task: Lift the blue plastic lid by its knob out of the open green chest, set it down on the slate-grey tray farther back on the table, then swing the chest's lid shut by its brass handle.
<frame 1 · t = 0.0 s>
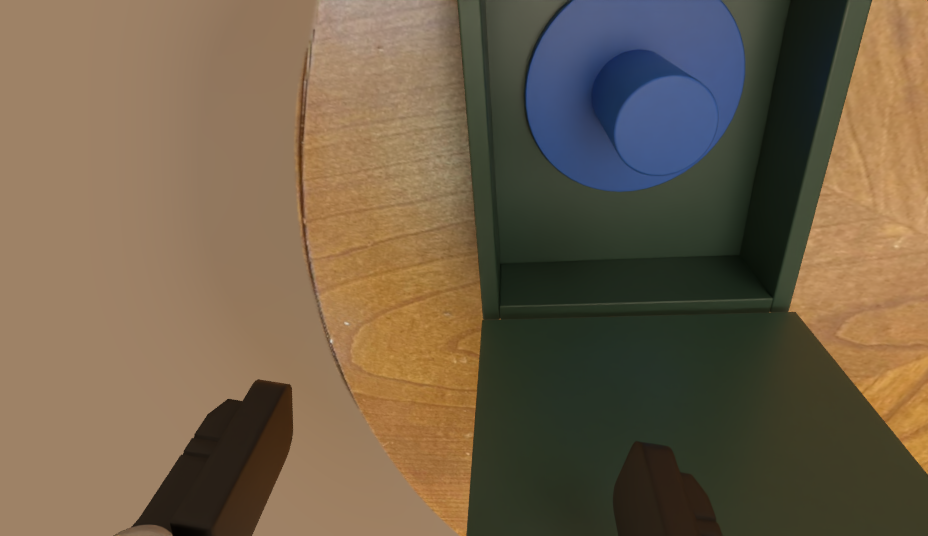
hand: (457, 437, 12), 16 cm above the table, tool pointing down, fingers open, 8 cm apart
blue lid: (628, 88, 23), point 1 cm above the table, touching green chest
chest lid: (678, 516, 18), point 13 cm above the table, hinge at 90.0°
green chest: (623, 118, 24), on the table
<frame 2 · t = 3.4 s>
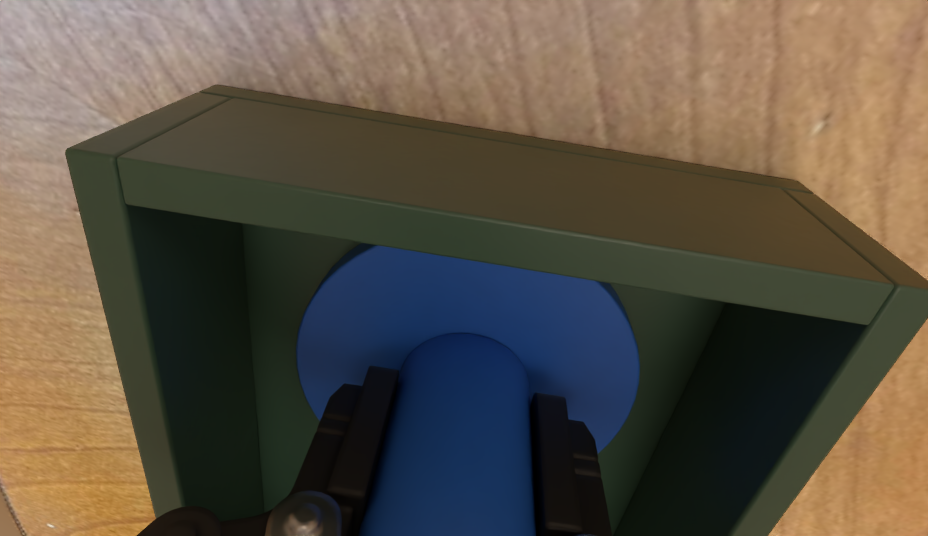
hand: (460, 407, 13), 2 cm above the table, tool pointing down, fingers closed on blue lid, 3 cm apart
blue lid: (466, 363, 15), point 1 cm above the table, touching gripper, green chest
green chest: (460, 383, 16), on the table
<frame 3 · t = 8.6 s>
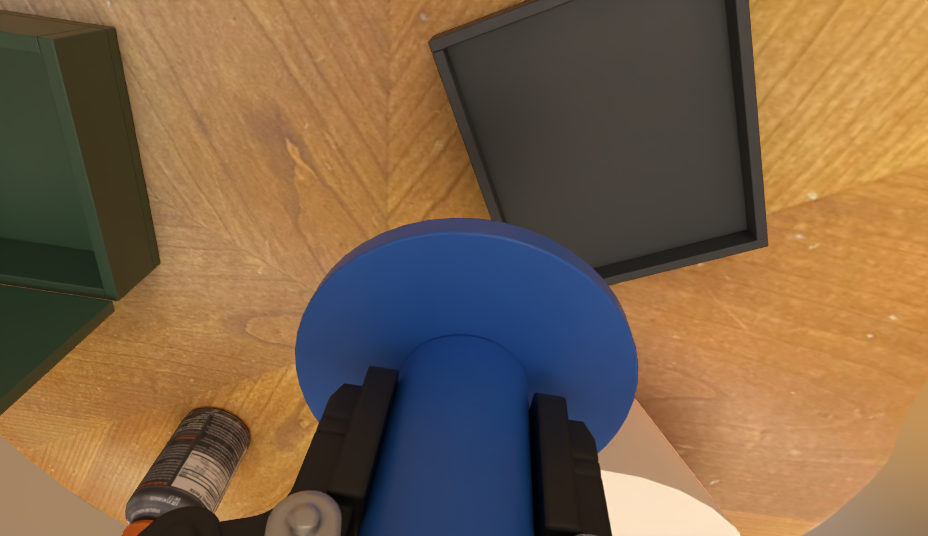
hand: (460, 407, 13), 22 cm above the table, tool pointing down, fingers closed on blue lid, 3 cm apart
blue lid: (465, 364, 15), point 20 cm above the table, touching gripper
pill bottle: (219, 428, 47), on the table
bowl: (545, 442, 45), on the table
green chest: (34, 143, 34), on the table
tray: (605, 140, 31), on the table
when the fingers open (2 cm above the table, at t = 13.7 s): blue lid stays where it is, resting on tray.
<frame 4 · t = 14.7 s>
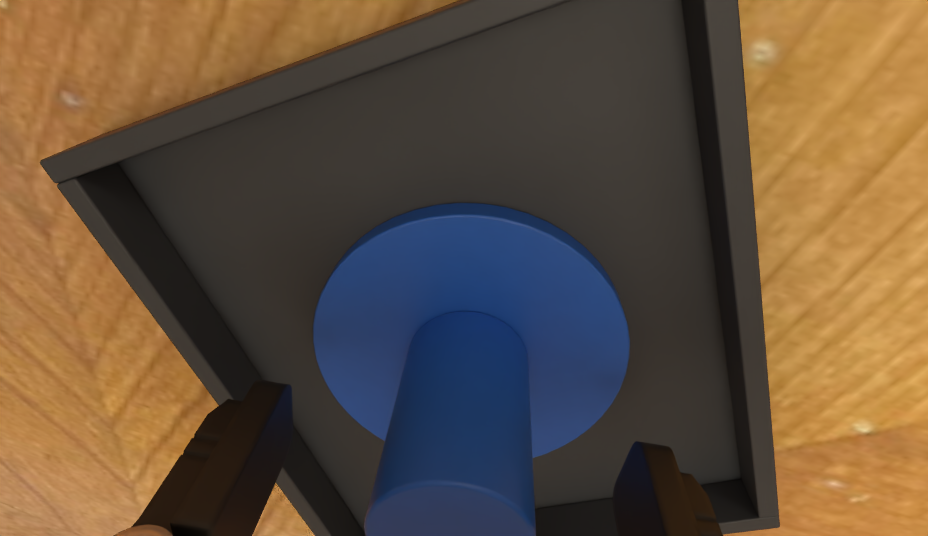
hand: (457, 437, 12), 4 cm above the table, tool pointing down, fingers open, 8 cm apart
blue lid: (469, 341, 16), point 1 cm above the table, touching tray
tray: (470, 327, 16), on the table
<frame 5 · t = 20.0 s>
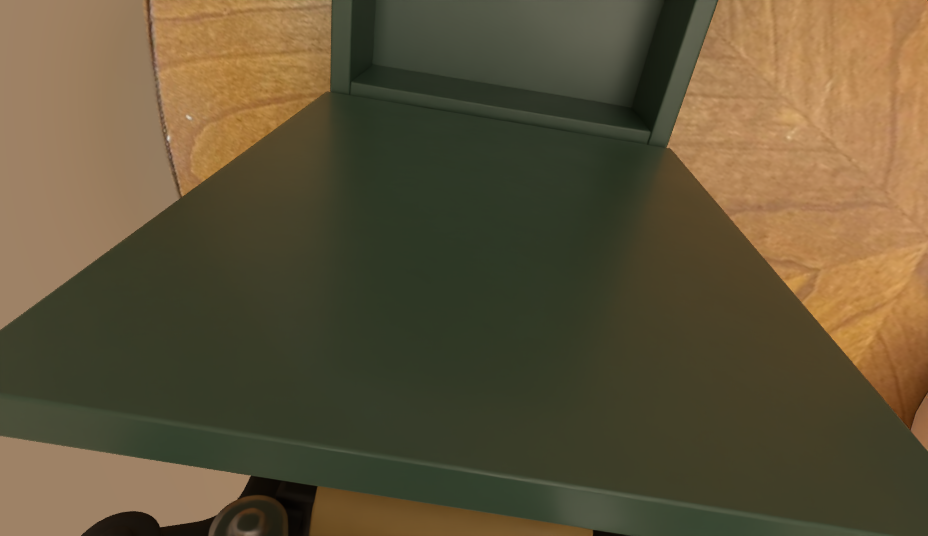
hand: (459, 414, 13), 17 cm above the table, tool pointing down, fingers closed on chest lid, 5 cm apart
chest lid: (479, 282, 15), point 13 cm above the table, hinge at 90.0°, touching gripper
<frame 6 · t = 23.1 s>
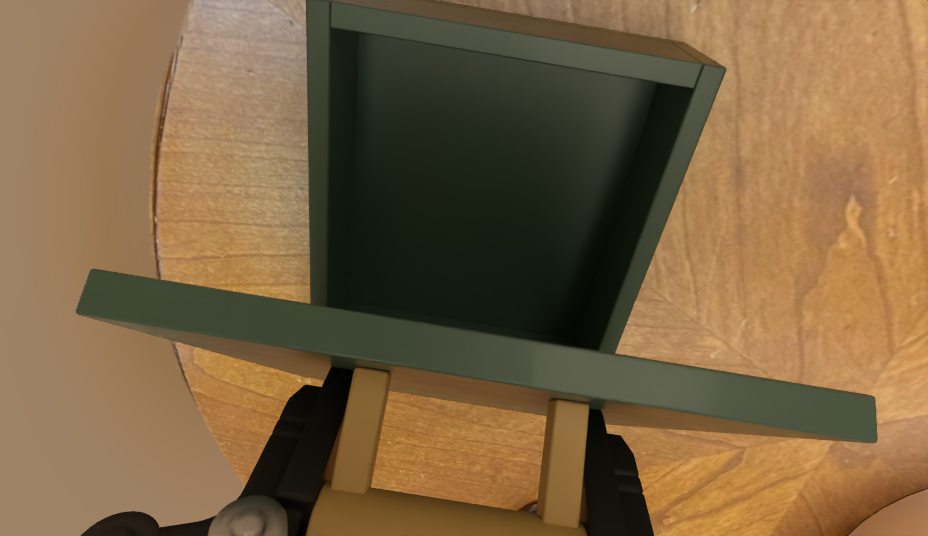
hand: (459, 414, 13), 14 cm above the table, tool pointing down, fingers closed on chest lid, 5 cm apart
chest lid: (450, 447, 16), point 12 cm above the table, hinge at 42.2°, touching gripper
green chest: (484, 193, 25), on the table
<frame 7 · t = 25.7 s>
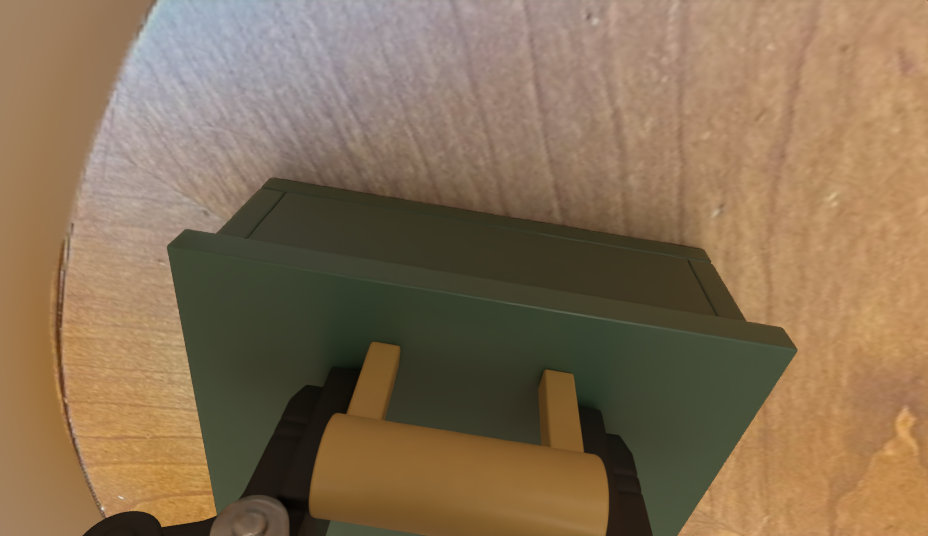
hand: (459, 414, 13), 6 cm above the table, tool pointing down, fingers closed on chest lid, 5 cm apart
green chest: (454, 390, 21), on the table
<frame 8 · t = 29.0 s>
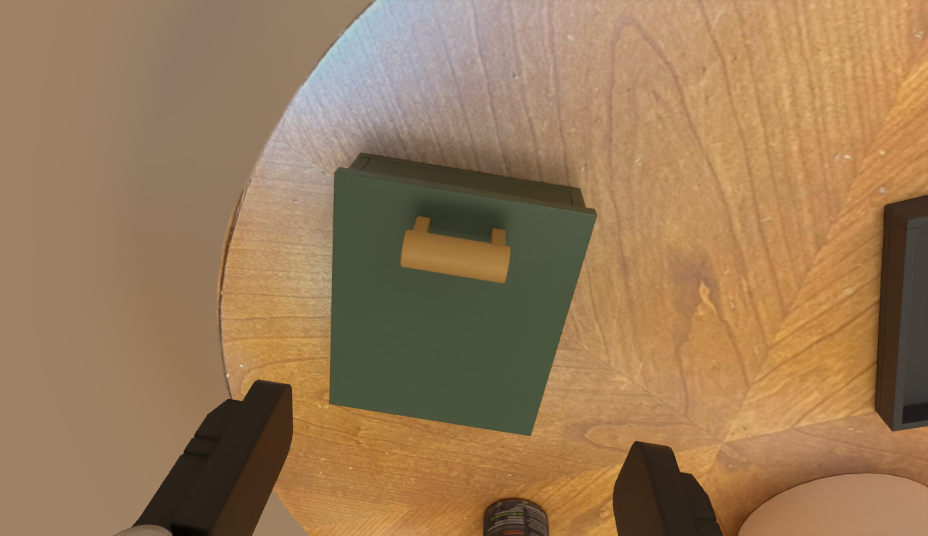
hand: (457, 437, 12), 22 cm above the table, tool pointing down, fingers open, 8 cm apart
chest lid: (442, 338, 30), point 7 cm above the table, hinge at -0.2°, touching green chest
pill bottle: (515, 515, 49), on the table
green chest: (453, 278, 36), on the table
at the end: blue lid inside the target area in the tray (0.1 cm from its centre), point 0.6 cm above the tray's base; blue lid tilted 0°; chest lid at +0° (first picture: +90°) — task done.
